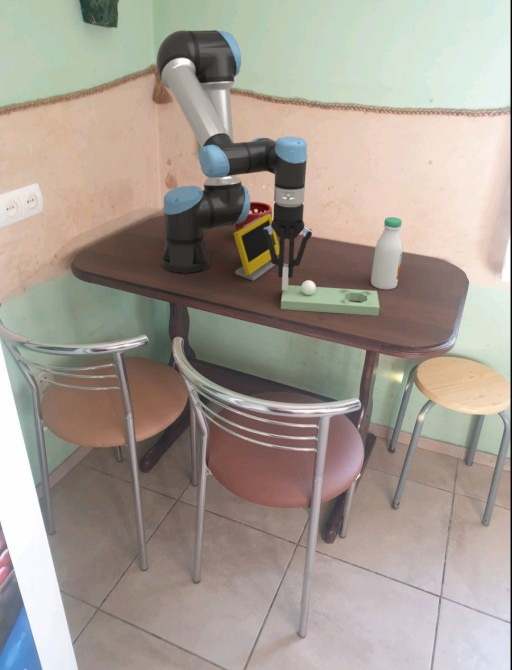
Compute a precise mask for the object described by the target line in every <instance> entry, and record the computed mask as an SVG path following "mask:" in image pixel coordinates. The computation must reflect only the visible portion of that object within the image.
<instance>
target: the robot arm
mask: <svg viewBox="0 0 512 670" xmlns="http://www.w3.org/2000/svg"><path fill="white" fill-rule="evenodd" d="M157 50H158V52H157V55H156V70H157V73H158V76H159V79H160V80H161V82H162V84H163V85H164V87H166V88H167V89H168V90H171V93H172V95H173V96H174V99H175V101H176V102H177V104H178V106H179V108H180V110H181V112H182V113H183V116H184V117H185V119H186V121H187V123H188V125H189V127H190V129H191V131H192V132H193V135H194V137H195V139H196V140H197V142H198V144H199V146H200V148H201V149H200V151H199V155H198V161H199V165H200V170H201V171H202V174H203V175H205V177H206V179H205V181H204V182H203V189H202V188H201V187H200V186H197V185H189V186H188V185H184V186H183V185H182V186H178V187H175V188H173V189H170V190H168V191H167V193H165V194H164V196H163V208H162V209H163V211H162V212H163V213H164V214H163V217H164V227H165V229H164V230H165V245H164V248H163V251H162V256H161V265H163V266H162V267H163V268H164V269H165V270H166V269H168V270H167V271H169V270H170V271H169V272H172V271H175V272H174V273H176V272H182V273H181V274H191V273H190V272H193V273H197V271H198V272H201V271H205V270H206V269H207V268H209V267H210V265H211V255H210V252H209V250H208V247H207V245H206V242H205V234H204V233H205V230H210V229H215V228H222V227H227V226H231V227H232V226H235V224H238V223H242V222H243V221H244V220H245V219H246V217H247V216H248V214H250V212H251V211H250V202H251V196H250V195H251V194H249V190H248V188H247V187H246V186H245V185H243V184H242V179H240V178H239V177H238V176H239V175H246V174H254V173H262V172H268V173H271V174H274V189H273V191H274V193H273V194H274V195H273V201H274V204H273V216H272V217H273V218H272V223H271V225H270V226H268V227H264V229H263V234H264V235H265V237H266V238H267V242H268V247H269V251H270V256H271V260H270V261H271V262H272V264H275V265H277V267H278V272H277V273H278V278H282V279H281V291H283V290H287V289H288V285H289V279H292V278H293V275H294V267H298V266H300V265H301V262H302V259H303V255H304V252H305V250H306V246H307V243H308V241H309V239H310V238H311V237H312V235H313V230H312V228H307V227H306V226H305V222H304V204H303V203H304V202H305V191H306V190H305V189H306V173H307V160H308V154H307V153H308V152H307V148H308V147H307V145H308V143H307V140H305V138H302V137H299V136H281V137H278V138H277V139H276V140H273V139H272V138H269V137H264V136H263V137H261V136H260V137H256V138H254V139H253V140H251V141H243V142H234V131H233V129H234V128H233V121H232V120H233V117H232V116H233V114H232V103H231V91H230V90H231V88H232V87H233V86H234V84H235V77H236V76H238V75H239V73H240V72H241V66H242V55H241V50H240V47H239V44H238V41H237V39H236V38H235V37H234V35H233V34H231V33H230V32H228V31H223V30H217V29H213V30H185V29H184V30H176V31H173V32H172V33H170V34H169V35H167V36H166V37H165V39H164V40H162V42H161V44H160V46H159V47H158V49H157ZM237 175H238V176H237ZM272 229H273V230H274V231H275V233H276V236H277V238H279V240H278V244H279V255H276V250H275V246H274V241H273V237H272V233H273V231H272ZM300 233H302V236H303V237H302V239H301V243H300V245H299V249H298V252H297V255H296V257H294V256H295V242H296V238H298V236H299V235H300ZM286 240H289V244H288V248H289V249H288V262H287V263H285V248H286V247H285V243H286ZM277 256H278V257H277ZM295 258H296V259H295ZM188 272H189V273H188Z"/></svg>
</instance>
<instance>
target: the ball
mask: <svg viewBox="0 0 512 670" xmlns="http://www.w3.org/2000/svg"><path fill="white" fill-rule="evenodd" d="M300 286H301V290H302V292H303V293H304V294H306V295H311V294H313V293H314V292H315V290H316V287H317V286H316V283H315V282H314V281H312V280H310V279H308V280H305V281H303V282H302V284H301V285H300Z"/></svg>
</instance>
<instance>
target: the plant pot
mask: <svg viewBox="0 0 512 670" xmlns="http://www.w3.org/2000/svg"><path fill="white" fill-rule="evenodd" d="M255 210H257V212H255ZM249 212H251V213H249V214H248V216H247V217H246V219H245V220H244V221H243V222H242V223H238V224H234V227H235V230H236V231H238V230H240V229H242V228H243V226H245V225H246V224H248V223H250V222H252V221H254V220H255V219H257V218H259V217H263V216H265V215H267V214H271V217H273V208H272V206H271V205H270V204H268V203H265V202H260V201H250V211H249Z"/></svg>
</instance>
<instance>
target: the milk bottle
mask: <svg viewBox="0 0 512 670" xmlns="http://www.w3.org/2000/svg"><path fill="white" fill-rule="evenodd" d="M402 223H403V222H402V219H401V218H398V217H395V216H392V217H386V218H385V219H384V225H383V227H384V229H383V231H382V234H381V235H380V237H379V238H378V240H377V241H376V242H377V243H376V245H375V249H374V255H373V262H372V270H371V276H370V283H371V286H373V287H374V288H376V289H379V290H386V291H388V290H393V289H395V288H396V287H397V285H398V282H399V276H400V275H399V274H400V271H401V270H400V269H401V263H402V257H403V249H404V248H403V240H402V238H401V233H400V230H401V226H402Z"/></svg>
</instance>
